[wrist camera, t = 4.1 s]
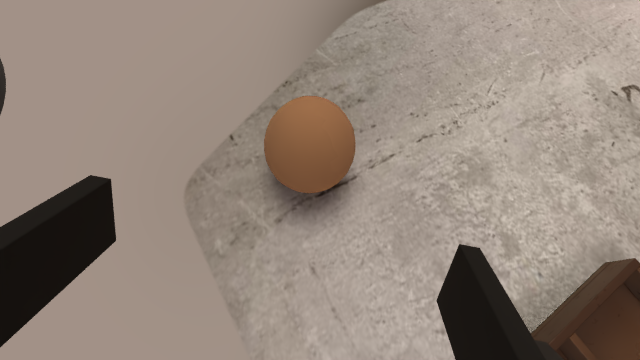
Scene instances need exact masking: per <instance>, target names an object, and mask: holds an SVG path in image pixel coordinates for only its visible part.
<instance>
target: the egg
mask: <svg viewBox="0 0 640 360" xmlns="http://www.w3.org/2000/svg"><path fill="white" fill-rule="evenodd" d="M264 151H265V156H266V161H267V163H268V166H269V168H270V170H271V171H272V173H273V174H274V176H275V177H276V179H278V180H279V181H280V182H281V183H282V184H284V185H285V186H287V187H288V188H290V189H293V190H295V191H298V192H303V193H317V192H321V191H324V190H327V189H329V188H331V187H333V186H334V185H336V184H337V183H339V181H340V180H341V179H342V178H343V177H344V176H345V175H346V174H347V172H348V170H349V168H350V166H351V164H352V162H353V158H354V154H355V136H354V129H353V127H352V125H351V123H350V121H349V119H348V118H347V116H346V115H345V113H344V112H343V111H342V110H341V109H340V107H338V106H337V105H336V104H334V103H333V102H331V101H329V100H327V99H325V98H321V97H317V96H302V97H299V98H296V99H293V100H291V101H289V102H288V103H286V104H285V105H284V106H282V107H281V108H280V109H279V110H278V111H277V112H276V114H275V115H274V116H273V117H272V119H271V120H270V123H269V125H268V127H267V130H266V135H265V139H264Z"/></svg>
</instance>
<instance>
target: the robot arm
mask: <svg viewBox="0 0 640 360" xmlns="http://www.w3.org/2000/svg"><path fill="white" fill-rule="evenodd" d="M115 241H116V234H115V222H114V211H113V199H112V188H111V179H108V178H103V177H97V176H92V175H90V176H88V177H86V178H85V179H83V180H81V181H80V182H78V183H76V184H74V185H73V186H71V187H69V188H68V189H66V190H64V191H62V192H60V193H59V194H57V195H55V196H54V197H52V198H50V199H48V200H47V201H45V202H43V203H41V204H40V205H38V206H36V207H34V208H33V209H31V210H29V211H28V212H26V213H24V214H23V215H21V216H19V217H18V218H16V219H14V220H12V221H10V222H8V223H7V224H5V225H3V226H2V227H0V347H1V346H2V345H3V344H4V343H6V342H7V341H8V340H9V339H10V338H11V337H12V336H13V335H14V334H15V333H16V332H17V331H19V330H20V329H21V328H22V327H23V326H24V325H25V324H26V323H27V322H28V321H29V320H31V319H32V318H33V317H34V316H35V315H36V314H37V313H38V312H39V311H40V310H41V309H42V308H43V307H45V306H46V305H47V304H48V303H49V302H50V301H51V300H52V299H53V298H54V297H55V296H56V295H58V293H60V292H61V291H62V290H63V289H64V288H65V287H66V286H67V285H68V284H69V283H71V282H72V281H73V280H74V279H75V278H76V277H77V276H78V275H79V274H80V273H81V272H83V271H84V270H85V268H87V267H88V266H89V265H90V264H91V263H92V262H93V261H94V260H95V259H97V258H98V257H99V256H100V255H101V254H102V253H103V252H104V251H105V250H106V249H107V248H109V247H110V246H111V245H112V244H113V243H114V242H115ZM437 303H438V306H439V310H440V313H441V316H442V319H443V322H444V325H445V328H446V331H447V334H448V337H449V340H450V344H451V347H452V350H453V353H454V356H455V359H456V360H564V359H563V358H562V357H561V356H560V355H559V354H558V353H557V352H556V351H555V350H554V349H553V348H552V347H551V346H550V345H549V344H548V343H547V342H543V341H538V340H534V339H533V337H532V335H531V334H530V332H529V330H528V329H527V327H526V325H525V324H524V322H523V320H522V319H521V317H520V315H519V313H518V312H517V310H516V308H515V307H514V305H513V303H512V302H511V300H510V298H509V297H508V295H507V293H506V292H505V290H504V288H503V287H502V285H501V283H500V282H499V280H498V278H497V276H496V275H495V273H494V271H493V270H492V268H491V266H490V265H489V263H488V261H487V260H486V258H485V256H484V255H483V253H482V251H481V250H480V248H477V247H471V246H466V245H461V244H459V246H458V249H457V251H456V254H455V256H454V259H453V261H452V264H451V266H450V269H449V271H448V273H447V276H446V278H445V281H444V283H443V286H442V288H441V291H440V293H439V296H438V298H437Z"/></svg>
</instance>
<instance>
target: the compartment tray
mask: <svg viewBox="0 0 640 360" xmlns="http://www.w3.org/2000/svg"><path fill="white" fill-rule="evenodd" d="M531 335H532V337H533V339H534V340H538V341H543V342H547V343H548V344H549V345H550V346H551V347H552V348H553V349H554V350H555V351H556V352H557V353H558V354H559V355H560V356H561V357H562V358H563V359H564V360H640V263H639V262H638V261H637V260H636V259H635V258H633V259H626V260H619V261H613V262H606V263H604V264H603V265H602V266H601V267H600V268H599V269H598V270H597V271H596V272H595V273H594V274H593V275H592V276H591V277H590V278H589V279H588V280H587V281H586V282H585V283H583V284H582V285H581V286H580V287H579V288H578V289H577V290H576V291H575V292H574V293H573V294H572V295H571V296H570V297H569V298H568V299H567V300H566V301H565V302H564V303H563V304H562V305H561V306H560V307H558V308H557V309H556V310H555V311H554V312H553V313H552V314H551V315H550V316H549V317H548V318H547V319H546V320H545V321H544V322H543V323H542V324H541V325H540V326H539V327H538V328H537V329H536V330H535V331H533V332H532V333H531Z"/></svg>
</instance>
